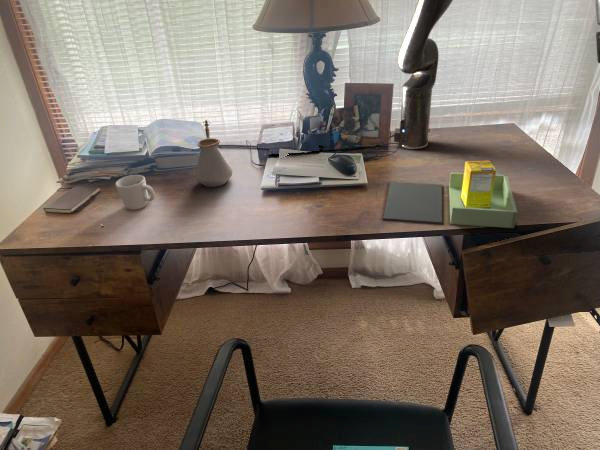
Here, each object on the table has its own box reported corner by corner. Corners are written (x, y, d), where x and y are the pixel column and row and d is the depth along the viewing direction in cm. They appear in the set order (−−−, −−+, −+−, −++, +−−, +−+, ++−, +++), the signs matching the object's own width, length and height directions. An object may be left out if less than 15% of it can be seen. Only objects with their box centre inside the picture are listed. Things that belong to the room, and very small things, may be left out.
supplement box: (483, 198, 114) (490, 159, 108) (489, 210, 108) (497, 170, 103) (460, 199, 114) (465, 160, 109) (465, 210, 109) (470, 170, 103)
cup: (165, 201, 127) (158, 176, 122) (149, 215, 120) (141, 189, 116) (134, 197, 130) (127, 173, 126) (117, 211, 124) (108, 185, 119)
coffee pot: (235, 186, 131) (227, 139, 123) (196, 192, 130) (186, 144, 122) (231, 159, 149) (224, 116, 141) (197, 164, 148) (188, 121, 140)
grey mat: (383, 219, 109) (383, 218, 109) (390, 183, 125) (390, 182, 125) (441, 223, 105) (441, 222, 105) (441, 186, 122) (441, 184, 121)
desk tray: (450, 223, 105) (452, 207, 103) (449, 186, 121) (450, 172, 119) (513, 228, 101) (517, 211, 99) (503, 189, 117) (506, 174, 115)
